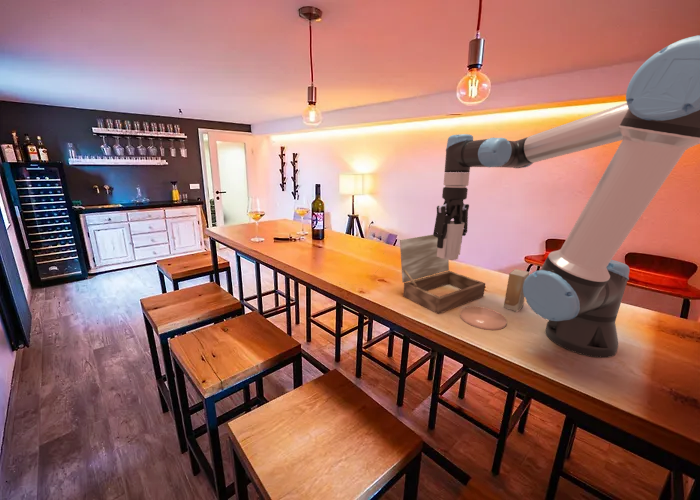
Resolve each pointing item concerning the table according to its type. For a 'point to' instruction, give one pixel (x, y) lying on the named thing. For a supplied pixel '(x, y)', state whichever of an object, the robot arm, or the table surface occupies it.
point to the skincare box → (515, 290)
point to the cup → (453, 240)
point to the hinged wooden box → (433, 276)
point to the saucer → (483, 318)
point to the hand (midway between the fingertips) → (448, 255)
